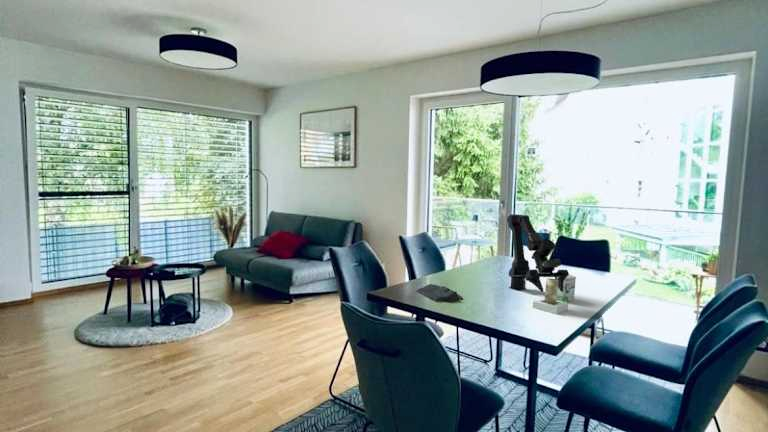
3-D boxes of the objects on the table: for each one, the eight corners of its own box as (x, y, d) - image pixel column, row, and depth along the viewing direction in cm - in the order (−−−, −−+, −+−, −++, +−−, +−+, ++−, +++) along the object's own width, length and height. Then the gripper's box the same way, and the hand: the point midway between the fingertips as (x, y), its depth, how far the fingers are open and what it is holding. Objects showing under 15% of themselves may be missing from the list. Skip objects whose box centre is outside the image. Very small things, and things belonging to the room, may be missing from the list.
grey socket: (532, 307, 191) (532, 301, 191) (544, 303, 198) (544, 297, 198) (556, 314, 183) (556, 307, 182) (567, 309, 190) (568, 302, 190)
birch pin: (544, 309, 189) (546, 280, 188) (544, 306, 194) (545, 278, 192) (556, 310, 187) (558, 281, 186) (555, 307, 192) (557, 279, 191)
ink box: (562, 302, 201) (564, 277, 200) (553, 299, 205) (555, 275, 204) (574, 300, 205) (576, 276, 204) (565, 297, 209) (567, 273, 208)
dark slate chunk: (439, 289, 219) (440, 279, 219) (465, 301, 199) (466, 291, 199) (413, 291, 213) (414, 282, 212) (437, 304, 193) (438, 294, 192)
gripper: (529, 251, 191) (539, 282, 181) (568, 252, 194) (580, 282, 184) (520, 265, 200) (529, 295, 190) (557, 265, 202) (569, 294, 192)
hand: (552, 291), depth 189 cm, fingers open, 9 cm apart
